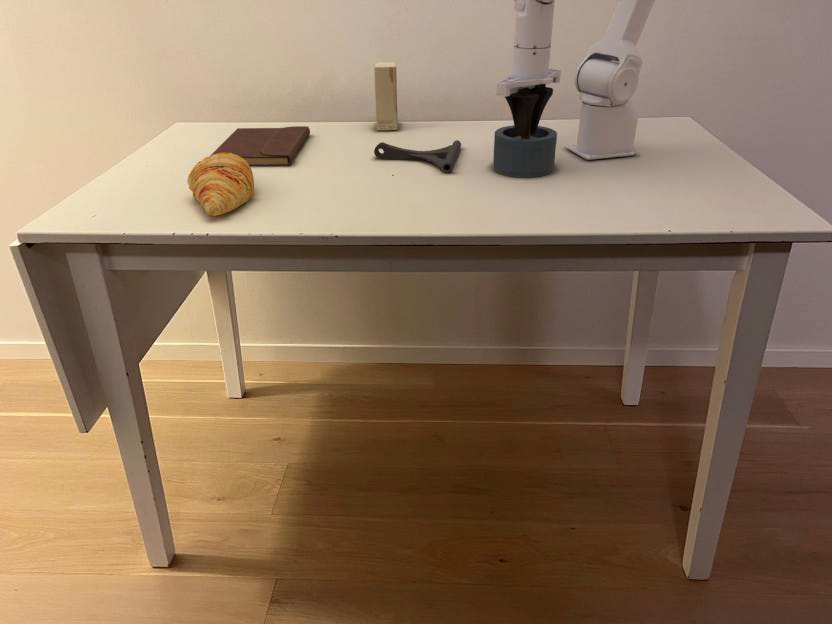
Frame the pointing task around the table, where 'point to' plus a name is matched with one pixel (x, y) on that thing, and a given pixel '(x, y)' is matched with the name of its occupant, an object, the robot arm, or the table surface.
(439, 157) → the bracket
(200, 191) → the croissant
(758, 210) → the table surface
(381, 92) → the cosmetic box
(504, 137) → the jar
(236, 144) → the notebook
